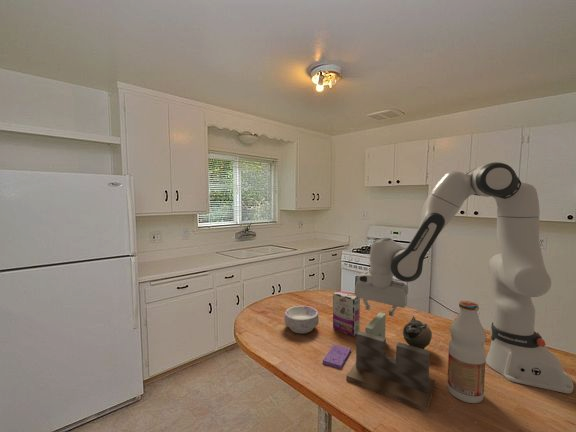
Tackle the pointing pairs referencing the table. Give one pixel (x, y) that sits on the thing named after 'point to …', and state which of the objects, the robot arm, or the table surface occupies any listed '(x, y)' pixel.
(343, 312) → the candy bar box
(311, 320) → the white patterned bowl
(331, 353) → the sponges
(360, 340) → the slotted stand
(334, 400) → the table surface
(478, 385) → the fruit juice
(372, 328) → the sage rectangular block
